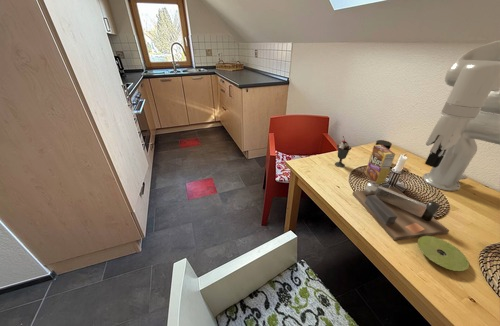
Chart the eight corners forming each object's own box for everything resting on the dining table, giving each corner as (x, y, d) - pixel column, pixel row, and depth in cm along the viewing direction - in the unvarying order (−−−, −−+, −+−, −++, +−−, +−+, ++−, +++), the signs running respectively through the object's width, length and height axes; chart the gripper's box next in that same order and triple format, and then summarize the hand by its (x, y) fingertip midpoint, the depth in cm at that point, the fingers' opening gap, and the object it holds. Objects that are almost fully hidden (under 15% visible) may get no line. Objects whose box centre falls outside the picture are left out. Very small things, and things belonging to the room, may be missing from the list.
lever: (362, 193, 80) (367, 180, 77) (366, 189, 82) (371, 176, 79) (429, 223, 66) (438, 209, 63) (432, 217, 68) (440, 203, 65)
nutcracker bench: (394, 190, 85) (398, 180, 82) (447, 233, 65) (455, 222, 63) (352, 194, 83) (355, 184, 80) (393, 240, 63) (399, 229, 61)
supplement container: (385, 159, 108) (391, 141, 102) (384, 165, 103) (391, 146, 97) (370, 156, 111) (376, 139, 105) (369, 161, 106) (376, 143, 100)
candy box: (363, 173, 96) (373, 144, 88) (372, 173, 96) (383, 144, 88) (374, 184, 88) (385, 153, 81) (384, 184, 88) (396, 153, 81)
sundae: (334, 160, 107) (340, 134, 100) (348, 163, 104) (355, 137, 96) (330, 165, 103) (337, 138, 95) (344, 169, 99) (352, 141, 92)
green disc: (417, 233, 65) (419, 229, 64) (464, 254, 59) (468, 250, 58) (412, 257, 58) (415, 253, 57) (465, 284, 52) (470, 279, 51)
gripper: (454, 104, 64) (428, 155, 73) (432, 111, 57) (407, 166, 67) (487, 110, 58) (455, 164, 67) (466, 118, 52) (433, 177, 61)
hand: (431, 165), depth 67 cm, fingers closed
